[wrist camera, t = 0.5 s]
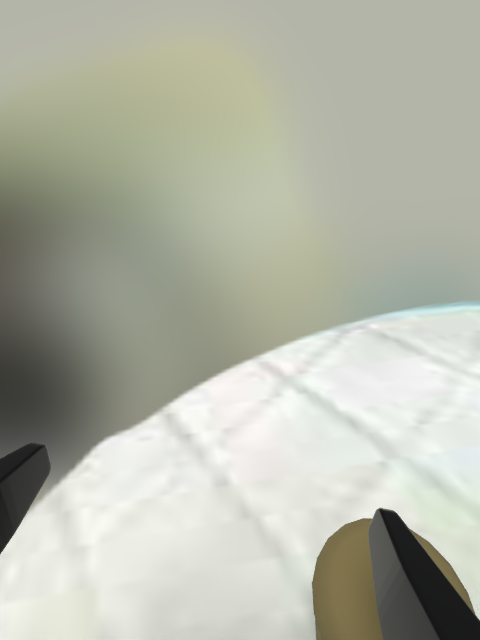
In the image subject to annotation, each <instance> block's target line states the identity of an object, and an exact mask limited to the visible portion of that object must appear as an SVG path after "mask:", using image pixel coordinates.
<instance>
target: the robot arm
mask: <svg viewBox="0 0 480 640" xmlns="http://www.w3.org/2000/svg"><path fill="white" fill-rule="evenodd" d="M50 469H51V463H50V458H49V453H48V449H47V447H46V446H45V445H42V444H37V443H30V444H27V445H25V446H23V447H21V448H19V449H18V450H16V451H14V452H12V453H10V454H8V455H6V456H5V457H3V458H1V459H0V554H1V552H2V551H3V549H4V548H5V547H6V545H7V544H8V542H9V541H10V539H11V538H12V536H13V535H14V533H15V532H16V530H17V528H18V527H19V525H20V524H21V522H22V520H23V518H24V517H25V515H26V513H27V511H28V510H29V508H30V506H31V504H32V503H33V501H34V499H35V497H36V496H37V494H38V492H39V491H40V489H41V487H42V485H43V484H44V482H45V480H46V478H47V477H48V475H49V473H50ZM368 539H369V548H370V556H371V565H372V573H373V581H374V590H375V598H376V605H377V612H378V617H379V622H380V627H381V632H382V637H383V640H480V620H479V619H478V618H477V616H476V615H475V614H474V613H473V611H472V610H471V609H470V607H469V606H468V605H467V603H466V602H465V601H464V600H463V598H462V597H461V596H460V594H459V593H458V592H457V590H456V589H455V588H454V587H453V585H452V584H451V583H450V581H449V580H448V579H447V577H446V576H445V575H444V574H443V572H442V571H441V570H440V568H439V567H438V566H437V565H436V563H435V562H434V561H433V559H432V558H431V557H430V555H429V554H428V553H427V552H426V550H425V549H424V548H423V546H422V545H421V544H420V542H419V541H418V540H417V539H416V537H415V536H414V535H413V533H412V532H411V531H410V529H409V528H408V527H407V526H406V524H405V523H404V522H403V520H402V519H401V518H400V516H399V515H398V514H397V513H396V512H395V511H393V510H388V509H383V508H379V509H377V510H376V512H375V514H374V517H373V519H372V521H371V524H370V526H369V530H368Z"/></svg>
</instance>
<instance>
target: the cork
mask: <svg viewBox="0 0 480 640" xmlns="http://www.w3.org/2000/svg"><path fill="white" fill-rule="evenodd" d="M371 521H372V519H366V518H363V519H360V520H357V521H354V522H351V523H348V524H345V525H344V526H343V527H341V528H340V529H339V530H338V531H337V532H335V533H334V534H333V535H332V536H331V537H330V538H328V540H327V542H326V543H325V545H324V547H323V549H322V550H321V552H320V554H319V556H318V558H317V562H316V567H315V572H314V577H313V582H312V588H313V605H314V615H315V618H316V620H315V622H316V639H317V640H383V637H382V632H381V627H380V622H379V617H378V612H377V605H376V598H375V590H374V581H373V573H372V565H371V556H370V548H369V539H368V530H369V526H370V524H371ZM410 531H411V532H412V533H413V535H414V536H415V537H416V539H417V540H418V541H419V542H420V544H421V545H422V546H423V548H424V549H425V550H426V552H427V553H428V554H429V555H430V557H431V558H432V559H433V561H434V562H435V563H436V565H437V566H438V567H439V568H440V570H441V571H442V572H443V574H444V575H445V576H446V577H447V579H448V580H449V581H450V583H451V584H452V585H453V587H454V588H455V589H456V590H457V592H458V593H459V594H460V596H461V597H462V598H463V600H464V601H465V602H466V603H467V605H468V606H469V607H470V609H471V610H472V611H473V613H474V614H475V612H474V609H473V607H472V604H471V601H470V598H469V595H468V592H467V591H466V589H465V588H464V586H463V584H462V583H461V581H460V579H459V578H458V576H457V575H456V573H455V571H454V570H453V568H452V566H451V565H450V564H449V563H448V561H447V560H446V559H445V558H444V557H443V556H442V555H441V554H440V553H439V552H438V551H437V550H436V549H435V548H434V547H433V546H432V545H431V544H430V542H428V541H427V540H425V539H424V538H422V537H421V536H419V535H418V534H416V533H415V532H413V531H412V530H410Z"/></svg>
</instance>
